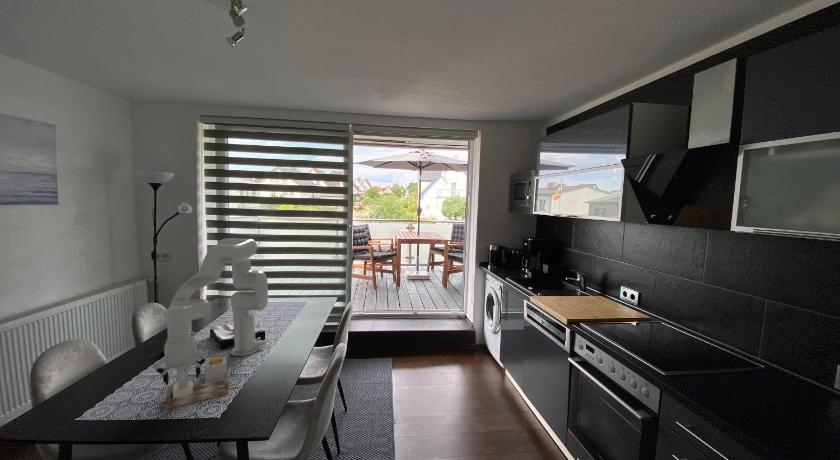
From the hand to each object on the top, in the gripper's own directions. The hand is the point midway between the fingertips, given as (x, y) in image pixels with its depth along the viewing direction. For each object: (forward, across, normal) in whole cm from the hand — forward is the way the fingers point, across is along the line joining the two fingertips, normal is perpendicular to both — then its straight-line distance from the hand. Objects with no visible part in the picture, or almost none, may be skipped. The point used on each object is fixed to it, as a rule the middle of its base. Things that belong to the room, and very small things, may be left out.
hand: (182, 379), depth 128 cm
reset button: (+1, -11, -10) cm, 15 cm away
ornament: (+8, +8, -54) cm, 55 cm away
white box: (+8, -11, -10) cm, 17 cm away
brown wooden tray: (+8, -5, 0) cm, 9 cm away
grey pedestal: (+5, 0, 0) cm, 5 cm away
